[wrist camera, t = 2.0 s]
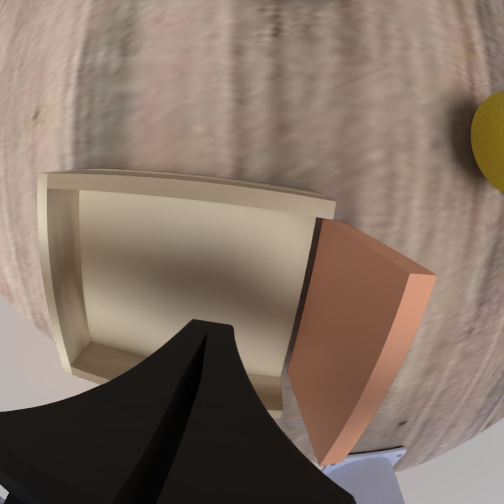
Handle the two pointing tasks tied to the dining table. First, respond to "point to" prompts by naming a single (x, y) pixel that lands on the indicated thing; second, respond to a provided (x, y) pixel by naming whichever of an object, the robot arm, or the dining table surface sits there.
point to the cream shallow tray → (172, 266)
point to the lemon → (490, 139)
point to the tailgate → (353, 334)
